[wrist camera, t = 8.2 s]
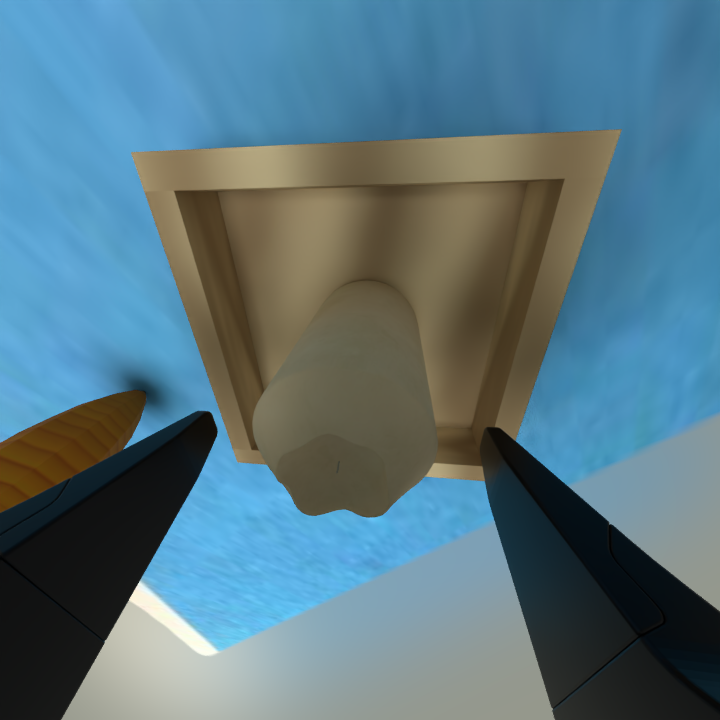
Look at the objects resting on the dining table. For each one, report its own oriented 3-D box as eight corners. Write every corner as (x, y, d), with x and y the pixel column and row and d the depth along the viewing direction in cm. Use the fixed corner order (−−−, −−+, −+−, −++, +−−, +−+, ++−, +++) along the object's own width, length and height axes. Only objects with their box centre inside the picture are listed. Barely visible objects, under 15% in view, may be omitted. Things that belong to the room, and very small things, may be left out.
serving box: (556, 148, 12) (621, 129, 8) (482, 432, 20) (501, 482, 16) (198, 163, 14) (130, 152, 10) (262, 419, 22) (237, 462, 18)
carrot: (187, 397, 21) (-136, 710, 8) (158, 427, 23) (-139, 717, 10) (126, 351, 20) (-387, 648, 7) (100, 388, 22) (-332, 670, 9)
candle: (439, 321, 15) (497, 488, 7) (375, 386, 18) (357, 568, 9) (355, 255, 14) (292, 354, 5) (300, 335, 16) (196, 490, 8)
